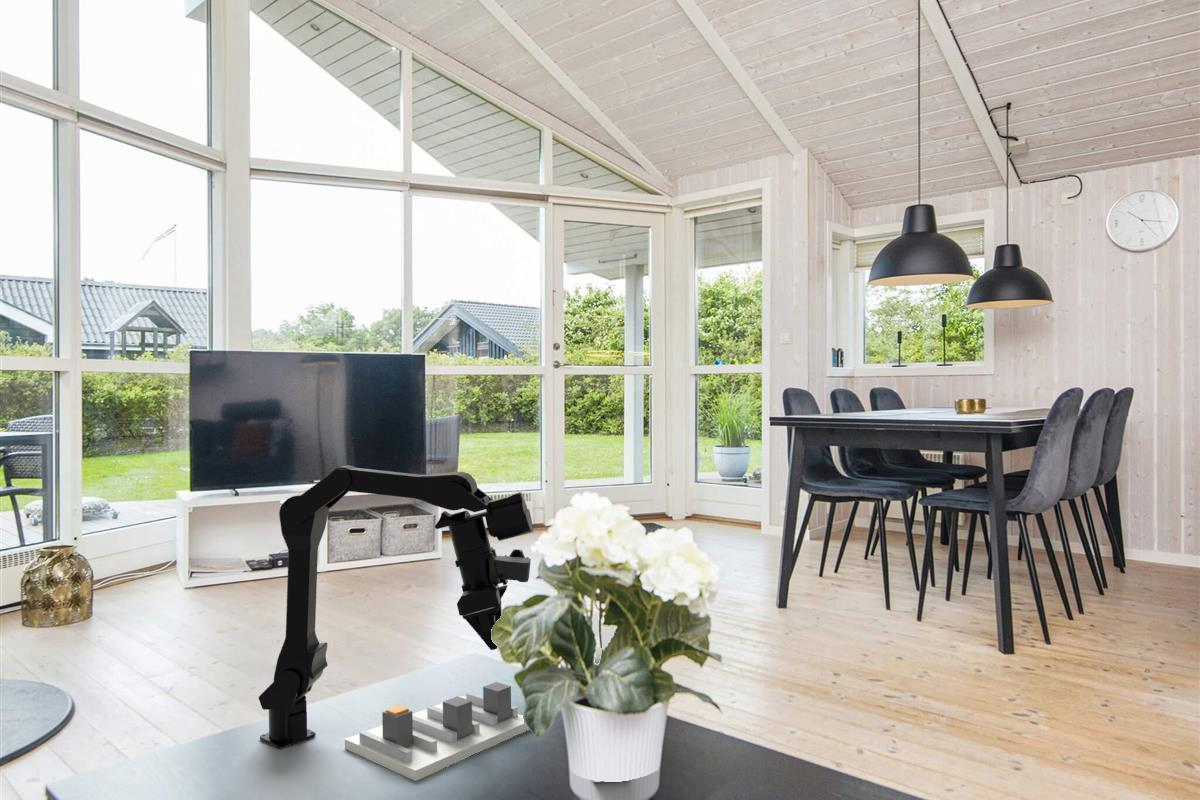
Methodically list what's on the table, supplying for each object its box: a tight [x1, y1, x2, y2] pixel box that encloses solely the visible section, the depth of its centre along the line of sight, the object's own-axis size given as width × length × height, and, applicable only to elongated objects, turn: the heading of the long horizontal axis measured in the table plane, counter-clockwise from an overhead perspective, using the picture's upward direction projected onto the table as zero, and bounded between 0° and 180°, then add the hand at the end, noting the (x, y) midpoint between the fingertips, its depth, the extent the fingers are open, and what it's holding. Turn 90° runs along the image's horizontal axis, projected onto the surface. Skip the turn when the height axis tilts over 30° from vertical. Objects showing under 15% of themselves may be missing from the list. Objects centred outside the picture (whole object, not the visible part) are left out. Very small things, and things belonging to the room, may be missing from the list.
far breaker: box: [482, 681, 512, 722], centre depth 135 cm, size 4×3×5 cm
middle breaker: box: [442, 696, 472, 739], centre depth 128 cm, size 4×3×5 cm
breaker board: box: [344, 691, 530, 782], centre depth 131 cm, size 18×24×3 cm
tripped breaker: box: [381, 704, 413, 747], centre depth 124 cm, size 4×3×5 cm
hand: (496, 641), depth 132 cm, fingers open, 9 cm apart
